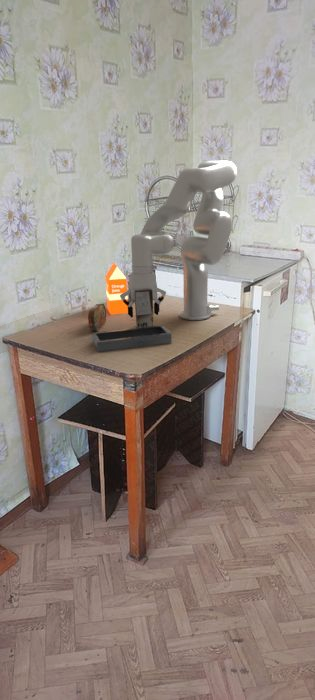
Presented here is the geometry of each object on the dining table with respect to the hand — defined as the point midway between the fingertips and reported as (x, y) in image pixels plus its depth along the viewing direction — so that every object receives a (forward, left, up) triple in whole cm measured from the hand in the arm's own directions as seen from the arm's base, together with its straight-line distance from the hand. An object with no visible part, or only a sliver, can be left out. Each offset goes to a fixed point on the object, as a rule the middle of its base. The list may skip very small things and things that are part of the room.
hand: (143, 315), depth 193 cm
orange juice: (+4, -29, -6) cm, 30 cm away
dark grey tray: (+8, +12, -6) cm, 15 cm away
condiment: (-7, -43, -6) cm, 44 cm away
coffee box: (0, 0, -6) cm, 6 cm away
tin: (+16, -10, -6) cm, 20 cm away
